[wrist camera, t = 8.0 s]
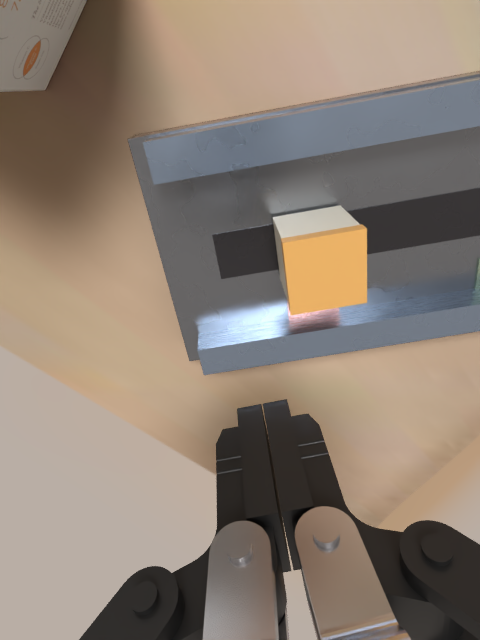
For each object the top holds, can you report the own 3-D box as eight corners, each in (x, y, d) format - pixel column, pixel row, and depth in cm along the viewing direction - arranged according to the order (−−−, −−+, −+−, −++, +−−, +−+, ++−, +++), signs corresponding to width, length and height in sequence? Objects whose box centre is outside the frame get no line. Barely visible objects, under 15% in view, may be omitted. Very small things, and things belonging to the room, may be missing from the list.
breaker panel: (135, 134, 21) (119, 143, 17) (615, 45, 20) (695, 37, 16) (191, 343, 27) (187, 379, 24) (554, 284, 26) (602, 312, 23)
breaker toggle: (271, 216, 21) (282, 242, 17) (341, 204, 21) (366, 228, 17) (279, 279, 22) (290, 315, 19) (343, 268, 22) (367, 302, 19)
